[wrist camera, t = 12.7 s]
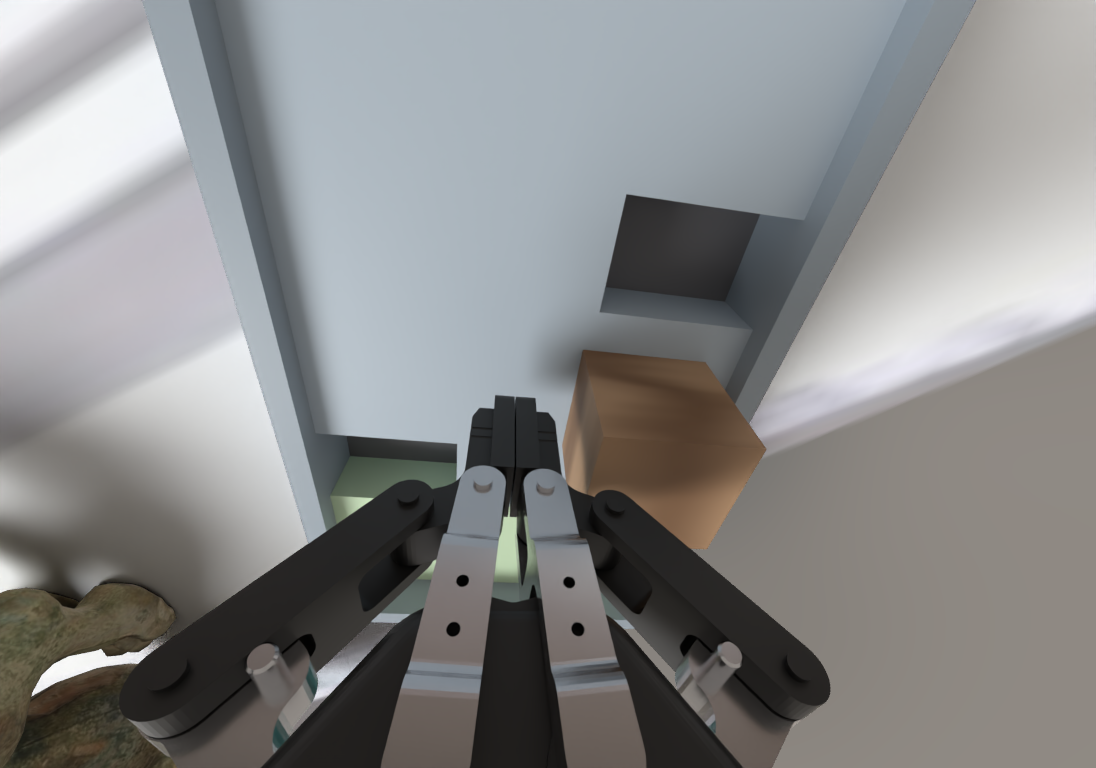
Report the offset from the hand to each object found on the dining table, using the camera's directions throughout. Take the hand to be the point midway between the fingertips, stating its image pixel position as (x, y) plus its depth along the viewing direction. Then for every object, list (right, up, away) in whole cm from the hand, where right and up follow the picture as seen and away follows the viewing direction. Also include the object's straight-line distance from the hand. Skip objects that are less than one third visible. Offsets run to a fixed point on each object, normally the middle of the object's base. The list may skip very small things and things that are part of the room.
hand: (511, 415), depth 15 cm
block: (+5, 0, +2) cm, 5 cm away
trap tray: (0, +3, +4) cm, 5 cm away
